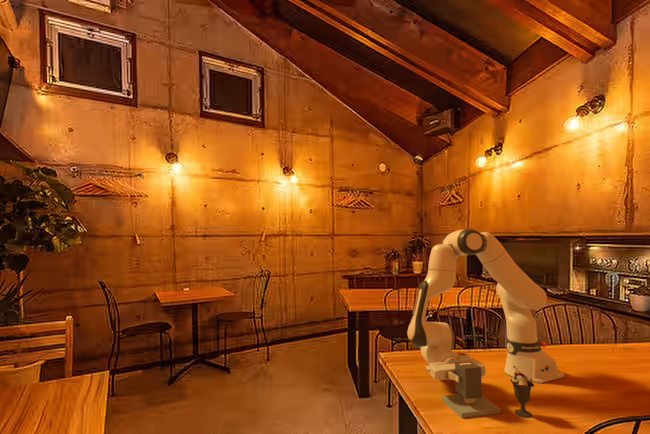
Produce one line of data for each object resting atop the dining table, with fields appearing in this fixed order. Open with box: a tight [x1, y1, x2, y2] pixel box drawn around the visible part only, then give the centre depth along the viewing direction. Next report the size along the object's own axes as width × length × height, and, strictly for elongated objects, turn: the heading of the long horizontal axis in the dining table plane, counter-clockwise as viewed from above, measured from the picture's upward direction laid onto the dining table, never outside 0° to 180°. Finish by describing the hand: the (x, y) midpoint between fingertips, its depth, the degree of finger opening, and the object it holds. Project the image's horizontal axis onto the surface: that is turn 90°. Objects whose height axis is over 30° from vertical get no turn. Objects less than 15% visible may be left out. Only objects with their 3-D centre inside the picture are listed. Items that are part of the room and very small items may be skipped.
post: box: [441, 393, 501, 419], centre depth 115 cm, size 14×12×8 cm
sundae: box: [509, 366, 535, 419], centre depth 110 cm, size 7×7×15 cm
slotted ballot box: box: [455, 361, 483, 399], centre depth 116 cm, size 6×6×10 cm
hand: (469, 378), depth 115 cm, fingers closed on slotted ballot box, 6 cm apart
